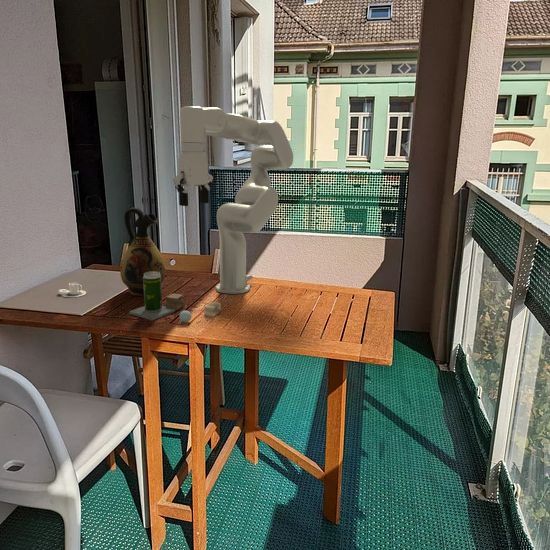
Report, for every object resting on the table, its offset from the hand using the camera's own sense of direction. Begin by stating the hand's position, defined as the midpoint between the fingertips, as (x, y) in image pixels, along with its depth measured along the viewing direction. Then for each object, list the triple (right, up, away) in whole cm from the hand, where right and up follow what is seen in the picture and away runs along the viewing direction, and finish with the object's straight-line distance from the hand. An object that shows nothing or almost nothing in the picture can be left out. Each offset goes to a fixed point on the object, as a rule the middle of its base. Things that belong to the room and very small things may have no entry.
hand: (194, 204), depth 155 cm
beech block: (+6, -35, 0) cm, 35 cm away
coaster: (-13, -34, -1) cm, 37 cm away
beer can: (-13, -34, -1) cm, 36 cm away
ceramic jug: (-22, -29, +20) cm, 41 cm away
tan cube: (-7, -33, +5) cm, 34 cm away
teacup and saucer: (-47, -29, +18) cm, 58 cm away
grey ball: (-1, -35, -8) cm, 36 cm away
